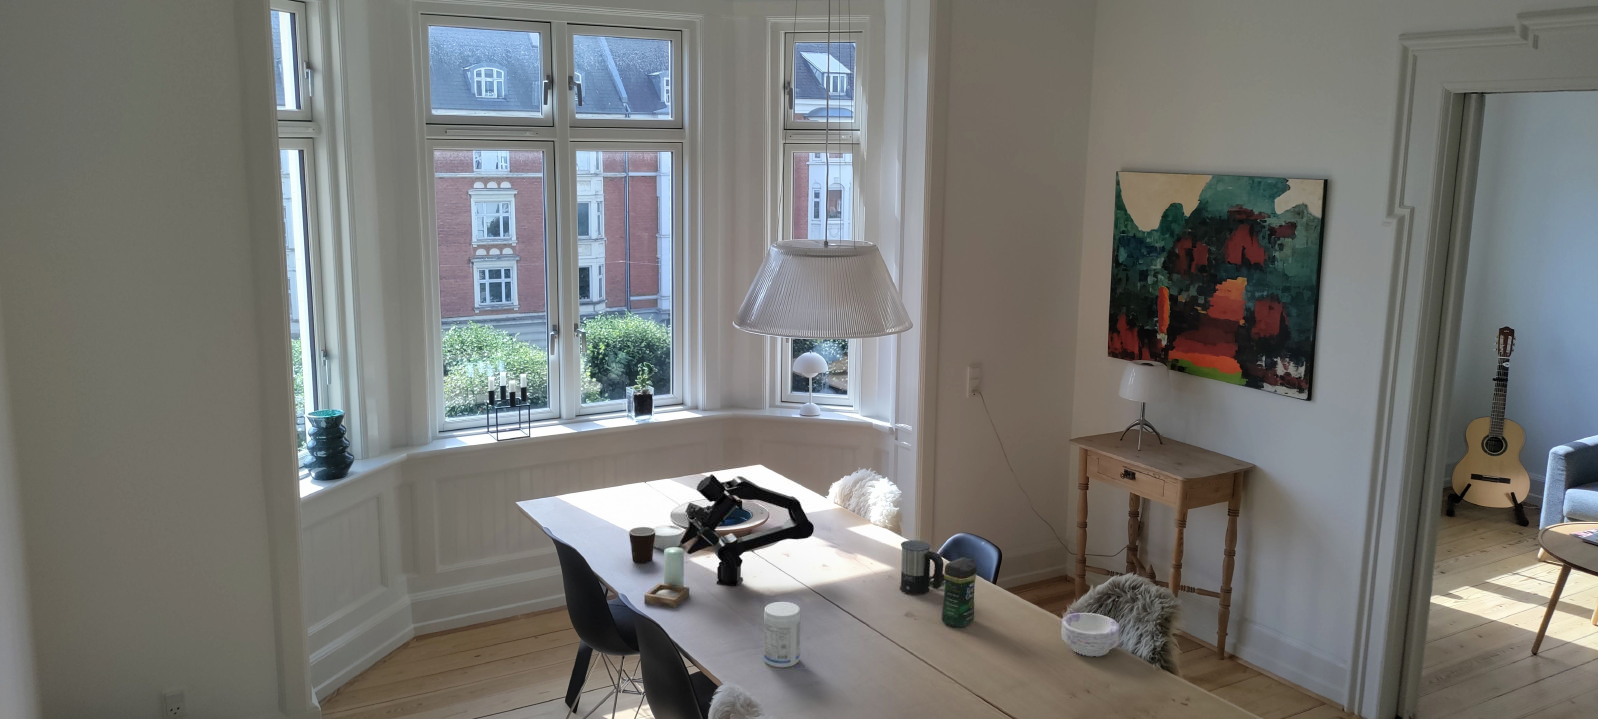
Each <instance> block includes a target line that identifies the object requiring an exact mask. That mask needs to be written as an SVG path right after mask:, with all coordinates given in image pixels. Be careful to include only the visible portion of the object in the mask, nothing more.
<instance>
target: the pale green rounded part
mask: <svg viewBox="0 0 1598 719" xmlns="http://www.w3.org/2000/svg"><path fill="white" fill-rule="evenodd" d="M684 552H685V549H684V548H682V547H679V546H678V547H671V548H667V549H663V565H664V567H663V575H664V576H663V577H664V578H663V582H664V583H663V584H670V585H676V586H682V587H685V586H684V585H685V583H684V582H685V575H684V574H685V568H684V567H685V565H684V564H685V555H684V554H685V553H684Z"/></svg>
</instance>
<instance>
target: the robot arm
mask: <svg viewBox="0 0 1598 719" xmlns="http://www.w3.org/2000/svg"><path fill="white" fill-rule="evenodd" d="M696 491H697V492H698V493H700V494H701V496H703V497H704V498H705V499H706V500H707V501H708V502H710V503H712V502H714V503H713V504H711V505H707V506H706V507H703V506H700V505H698V504H695V503H692V502H689V503H688V505H687V507H686V509H685V513H686V514H687V517H688V518H687V528H686V530H685V532H684V533H683V535H682V539H681V541H680V543H681V544H680V545H685V544H687V543H688V542H689V541H692V540H693V539H694V538H695V540H694V541H693V543H692V544H691V545H690V546H689V548H688V549H687V551H686V553H687V554H688V555H692V554H694V553H696V552H699V551H701V550H705V549H706V548H709V547H712V551H713V553H714V555H715V556H716V557H717V558H718V559H719V560H720V561H719V562H718V566H717V567H716V568H717V570H716V571H717V578H716V579H717V580H716V584H719V585H725V586H731V587H732V586H733V587H736V586H738V585H739V583H741V582H742V580H744V578H743V577H742V564H743V562H744V559H742V558H741V557H740V556H741V555H743V554H744V553H745V552H748V551H751V550H754V549H758V548H762V547H764V546H768V545H770V544H775V543H779V542H780V541H781V542H782V541H785V540H805V539H808V538H811V537H812V535H813V533H814V530H815V527H814V524H813V523H812V521H810V520H809V518H808V517H807V514H806V513H805V511H804V509H803V508H802V504H801V502H800V500H798V499H797V498H796V497H795V496H794V495H793V496H792V495H786V494H784V493H780V492H777V491H774V490H772V489H769V488H765V487H761V486H759V485H758V484H756V483H754V482H752V481H751V480H749V479H747V478H746V477H743V476H742V475H741V476H736V477H733V479H731V480H727V481H722V482H721V481H720V480H719V479H718V478H717V477H716V476H715V475H714V474H713V473H712V474H710V475H709V476H706V477H705V478H703V479H701V480H700V481H699V483H698V484H697V486H696ZM727 494H728V495H727ZM737 498H738V499H737ZM743 500H747V501H760V502H764V503H766V504H770V505H773V506H776V507H779V508H783V509H785V510H787V512H788V516H789V519H787V520H786V521H785V522H784V523H783V524H781V525H778V526H775V527H771V528H768V529H764V530H761V531H757V532H755V533H754V532H753V533H751V534H747V535H744V536H742V537H736V535H735V534H734V533H733V532H731V533H729V534H726V535H720V536H719V535H718V534H717V530H716V529H717V528H718V527H719V526H720V525H721V523H722V524H725V523H726V520H725V519H726V518H727V517H728V516H729V515H730V514H731V513H732V512H733V511H734V509H736V507H737V508H738V509H739V510H740V511H742V510H744V509H743Z"/></svg>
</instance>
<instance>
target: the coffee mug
mask: <svg viewBox="0 0 1598 719" xmlns="http://www.w3.org/2000/svg"><path fill="white" fill-rule="evenodd" d="M653 528H654V527H648V526H638V527H633V528H631V529H630V530H628V536H629V542H630V550H631V558H632V562H633V563H634V564H640V565H642V564H649V563H651V562H652V561H653V558H654V548H655V546H654V540H655V529H653Z"/></svg>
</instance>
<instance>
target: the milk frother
mask: <svg viewBox="0 0 1598 719" xmlns="http://www.w3.org/2000/svg"><path fill="white" fill-rule="evenodd" d="M900 546H901V564H900V565H901V566H900V568H901V570H900V571H901V573H900V574H901V575H900V586H899V590H901V591H902V592H901V591H900V592H901V593H903V592H905V593H904V594H906V595H909V594H911V595H910V596H922V595H926V594H928V593H929V592H930V587H932V588H933V589H934V590H938V589H940V588H941V586H942V583H943V582H945V576H944V559H943V558H942V556H941V555H940V554H939V553H937V552H936V551H932V550H931V549H930V548H931V547H932V545H931V544H930V543H929V542H927V541H924V540H919V539H911V540H905V541H903V542H901V543H900ZM931 562H933V564H934V568H933V569H934V570H933V571H934V573H933V574H932V575H930V573H931Z"/></svg>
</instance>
